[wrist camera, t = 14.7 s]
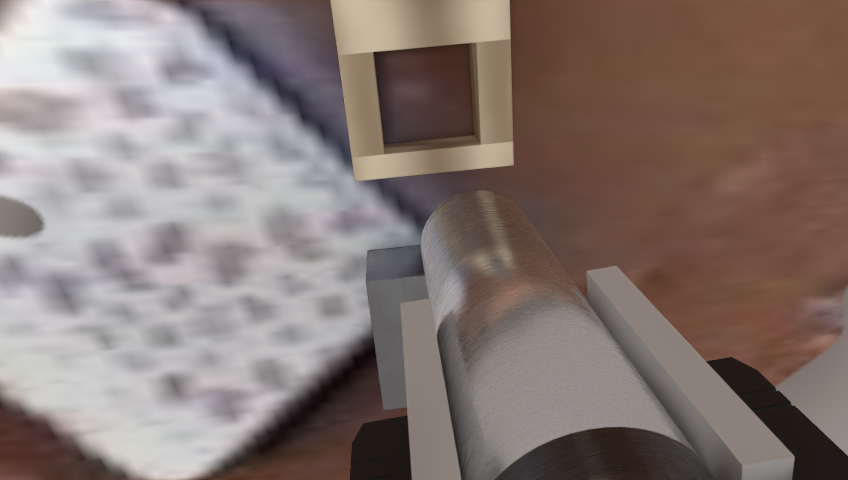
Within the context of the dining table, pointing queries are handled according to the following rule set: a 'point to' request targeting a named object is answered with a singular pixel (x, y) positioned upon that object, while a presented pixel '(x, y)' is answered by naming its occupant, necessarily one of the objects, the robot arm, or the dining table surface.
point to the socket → (393, 313)
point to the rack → (414, 28)
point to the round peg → (535, 360)
